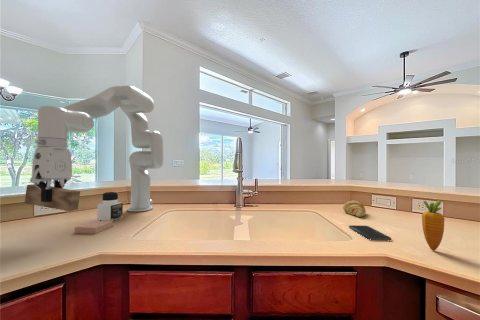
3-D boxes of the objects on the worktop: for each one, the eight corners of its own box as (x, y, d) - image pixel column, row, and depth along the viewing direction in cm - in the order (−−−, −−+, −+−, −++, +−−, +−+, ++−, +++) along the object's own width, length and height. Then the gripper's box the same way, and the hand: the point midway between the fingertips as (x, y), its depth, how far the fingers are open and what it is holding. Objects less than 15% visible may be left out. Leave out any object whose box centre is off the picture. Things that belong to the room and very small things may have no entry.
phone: (369, 238, 72) (347, 225, 87) (369, 241, 72) (347, 228, 87) (393, 238, 72) (367, 225, 87) (393, 242, 72) (367, 228, 87)
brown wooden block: (77, 209, 72) (80, 191, 72) (69, 211, 69) (72, 192, 69) (33, 201, 73) (36, 183, 73) (24, 203, 70) (27, 184, 70)
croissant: (367, 226, 101) (376, 211, 100) (347, 215, 103) (355, 200, 102) (353, 214, 122) (360, 202, 121) (336, 205, 123) (343, 193, 123)
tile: (74, 227, 78) (95, 227, 77) (93, 220, 87) (112, 221, 86) (74, 234, 78) (95, 235, 77) (93, 226, 87) (112, 227, 86)
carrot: (417, 247, 66) (417, 198, 67) (432, 247, 67) (432, 198, 67) (433, 254, 61) (433, 201, 62) (449, 254, 62) (449, 201, 62)
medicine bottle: (110, 221, 93) (111, 193, 94) (96, 220, 95) (97, 193, 95) (122, 217, 100) (123, 191, 101) (109, 216, 102) (110, 190, 102)
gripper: (38, 142, 63) (37, 205, 63) (83, 146, 79) (82, 197, 79) (14, 142, 63) (13, 205, 63) (64, 146, 80) (63, 196, 79)
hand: (51, 200), depth 71 cm, fingers closed on brown wooden block, 3 cm apart
